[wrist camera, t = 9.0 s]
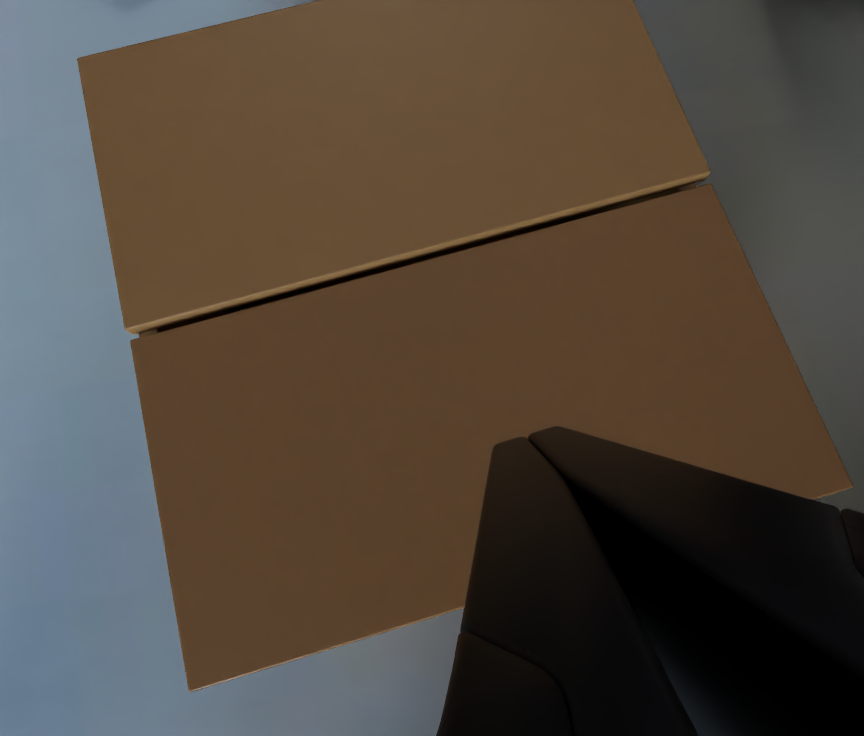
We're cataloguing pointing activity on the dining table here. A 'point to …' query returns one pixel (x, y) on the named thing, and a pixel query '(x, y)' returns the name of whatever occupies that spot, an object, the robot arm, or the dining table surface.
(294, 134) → the carton
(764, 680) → the robot arm
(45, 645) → the dining table surface
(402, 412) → the flap
